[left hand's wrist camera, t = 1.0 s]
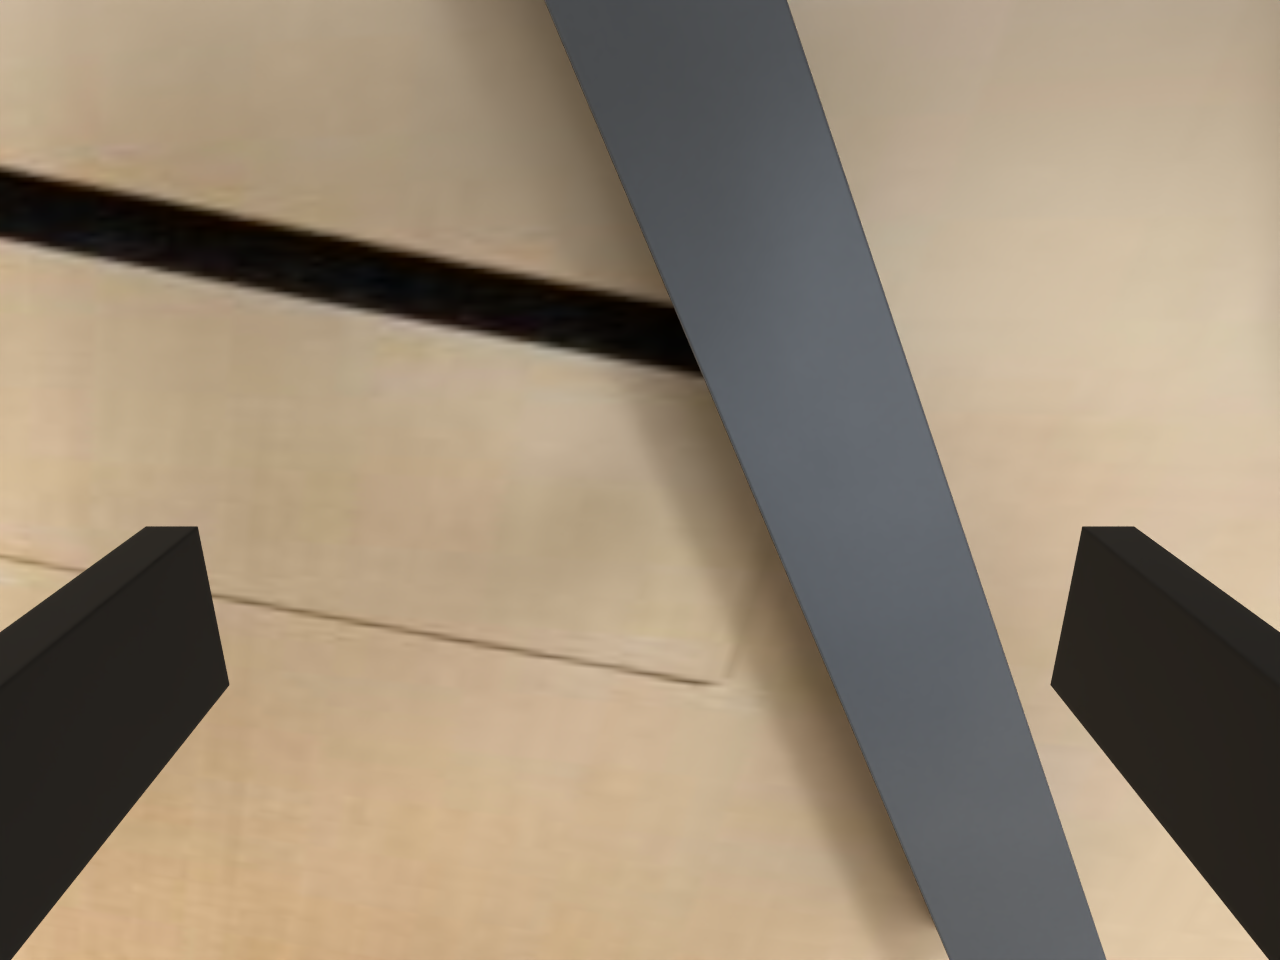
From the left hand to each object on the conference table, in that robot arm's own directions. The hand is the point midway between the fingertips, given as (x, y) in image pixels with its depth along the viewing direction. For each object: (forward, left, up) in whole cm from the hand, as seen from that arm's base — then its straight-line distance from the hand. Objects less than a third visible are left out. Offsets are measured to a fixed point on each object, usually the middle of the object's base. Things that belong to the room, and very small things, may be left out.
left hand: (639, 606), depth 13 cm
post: (-3, +8, -20) cm, 22 cm away
